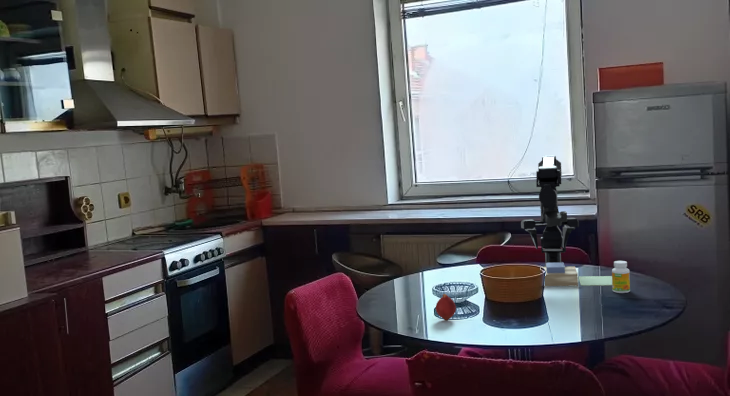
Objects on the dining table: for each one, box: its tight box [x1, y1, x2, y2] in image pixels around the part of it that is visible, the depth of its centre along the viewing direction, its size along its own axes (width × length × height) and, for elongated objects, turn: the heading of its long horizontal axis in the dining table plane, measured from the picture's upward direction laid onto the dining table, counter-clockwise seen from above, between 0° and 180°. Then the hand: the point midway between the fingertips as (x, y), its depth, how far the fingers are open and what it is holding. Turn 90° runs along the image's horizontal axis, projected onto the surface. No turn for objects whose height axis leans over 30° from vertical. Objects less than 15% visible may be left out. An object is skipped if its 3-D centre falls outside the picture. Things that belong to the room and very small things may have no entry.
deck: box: [541, 266, 579, 287], centre depth 245 cm, size 13×12×4 cm
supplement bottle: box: [611, 260, 631, 294], centre depth 226 cm, size 5×5×10 cm
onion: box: [435, 293, 457, 321], centre depth 206 cm, size 6×6×8 cm
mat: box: [578, 275, 612, 287], centre depth 242 cm, size 13×12×1 cm
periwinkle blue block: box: [545, 261, 566, 273], centre depth 245 cm, size 8×6×2 cm
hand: (550, 248), depth 241 cm, fingers open, 9 cm apart
